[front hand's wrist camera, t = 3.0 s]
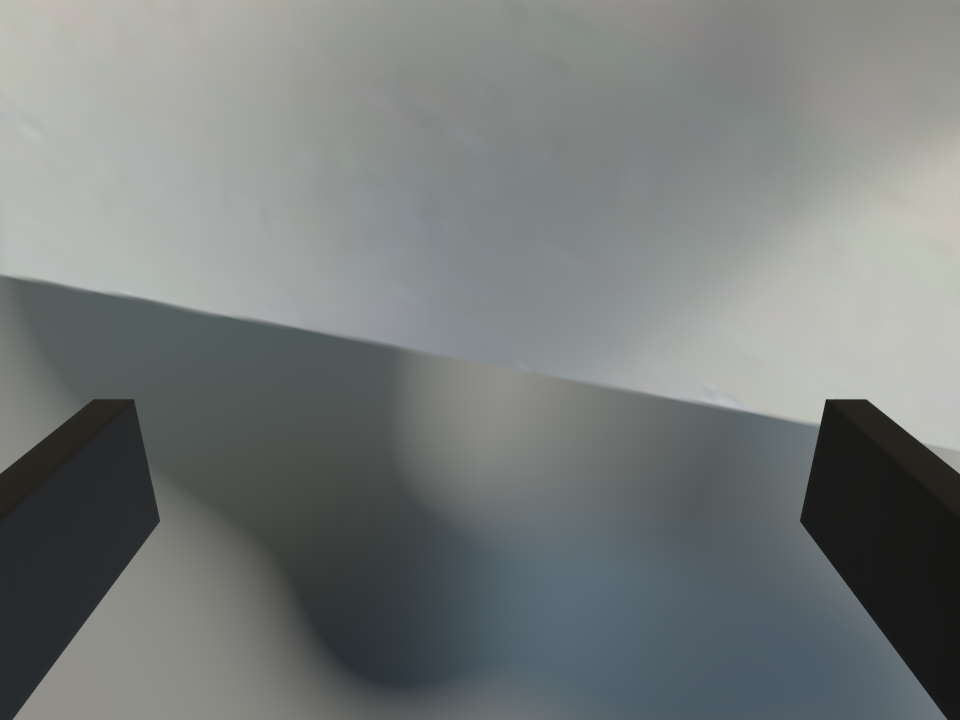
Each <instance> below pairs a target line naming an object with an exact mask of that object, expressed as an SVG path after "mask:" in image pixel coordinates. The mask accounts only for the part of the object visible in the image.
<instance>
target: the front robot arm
mask: <svg viewBox="0 0 960 720" xmlns="http://www.w3.org/2000/svg"><path fill="white" fill-rule="evenodd" d="M159 522H160V519H159V514H158V509H157V505H156V500H155V495H154V491H153V486H152V481H151V477H150V472H149V467H148V463H147V458H146V453H145V449H144V444H143V439H142V435H141V430H140V425H139V421H138V416H137V411H136V407H135V402H134V399H94V400H92V401H91V402H90V403H89V404H87V405H86V406H85V407H84V408H82V409H81V410H80V411H79V412H77V413H76V414H75V415H74V416H72V417H71V418H70V419H69V420H67V421H66V422H65V423H64V424H62V425H61V426H60V427H59V428H57V429H56V430H55V431H53V432H52V433H51V434H50V435H48V436H47V437H46V438H45V439H44V440H42V441H41V442H40V443H39V444H37V445H36V446H35V447H33V448H32V449H31V450H30V451H28V452H27V453H26V454H25V455H23V456H22V457H21V458H20V459H18V460H17V461H16V462H15V463H13V464H12V465H11V466H10V467H9V468H7V469H6V470H5V471H3V472H2V473H1V474H0V720H13V718H14V717H15V716H16V714H17V713H18V712H19V710H20V709H21V708H22V706H23V705H24V703H25V702H26V701H27V699H28V698H29V697H30V695H31V694H32V693H33V691H34V690H35V689H36V687H37V686H38V685H39V683H40V682H41V681H42V679H43V678H44V677H45V675H46V674H47V673H48V671H49V670H50V669H51V667H52V666H53V664H54V663H55V662H56V660H57V659H58V658H59V656H60V655H61V654H62V652H63V651H64V650H65V648H66V647H67V646H68V644H69V643H70V642H71V640H72V639H73V638H74V636H75V635H76V634H77V632H78V631H79V630H80V628H81V627H82V625H83V624H84V623H85V621H86V620H87V619H88V617H89V616H90V615H91V613H92V612H93V611H94V609H95V608H96V607H97V605H98V604H99V603H100V601H101V600H102V598H103V597H104V596H105V595H106V593H107V592H108V590H109V589H110V588H111V586H112V585H113V584H114V582H115V581H116V580H117V578H118V577H119V576H120V574H121V573H122V572H123V570H124V569H125V568H126V566H127V565H128V564H129V562H130V561H131V560H132V558H133V557H134V555H135V554H136V553H137V551H138V550H139V549H140V547H141V546H142V545H143V543H144V542H145V541H146V539H147V538H148V537H149V535H150V534H151V533H152V531H153V530H154V529H155V527H156V526H157V525H158V523H159ZM800 522H801V523H802V525H803V526H804V527H805V529H806V530H807V531H808V533H809V534H810V535H811V537H812V538H813V539H814V541H815V542H816V543H817V545H818V546H819V547H820V549H821V550H822V551H823V553H824V554H825V555H826V557H827V558H828V560H829V561H830V562H831V564H832V565H833V566H834V568H835V569H836V570H837V572H838V573H839V574H840V576H841V577H842V578H843V580H844V581H845V582H846V584H847V585H848V586H849V588H850V589H851V590H852V592H853V593H854V595H855V596H856V597H857V598H858V600H859V601H860V603H861V604H862V605H863V607H864V608H865V609H866V611H867V612H868V613H869V615H870V616H871V617H872V619H873V620H874V621H875V623H876V624H877V625H878V627H879V628H880V629H881V631H882V632H883V634H884V635H885V636H886V637H887V639H888V640H889V642H890V643H891V644H892V646H893V647H894V648H895V650H896V651H897V652H898V654H899V655H900V656H901V658H902V659H903V660H904V662H905V663H906V664H907V666H908V667H909V669H910V670H911V671H912V672H913V674H914V675H915V676H916V678H917V679H918V681H919V682H920V683H921V685H922V686H923V687H924V689H925V690H926V691H927V693H928V694H929V695H930V697H931V698H932V699H933V701H934V702H935V704H936V705H937V706H938V708H939V709H940V710H941V712H942V713H943V714H944V716H945V717H946V718H947V720H960V474H959V473H958V472H957V471H955V470H954V469H953V468H952V467H950V466H949V465H948V464H947V463H945V462H944V461H943V460H942V459H940V458H939V457H938V456H937V455H935V454H934V453H933V452H932V451H930V450H929V449H928V448H927V447H925V446H924V445H923V444H922V443H920V442H919V441H918V440H917V439H915V438H914V437H913V436H912V435H910V434H909V433H908V432H907V431H905V430H904V429H903V428H902V427H900V426H899V425H898V424H897V423H895V422H894V421H893V420H892V419H890V418H889V417H888V416H887V415H885V414H884V413H883V412H881V411H880V410H879V409H878V408H876V407H875V406H874V405H873V404H871V403H870V402H869V401H868V400H866V399H826V402H825V407H824V411H823V416H822V421H821V425H820V430H819V435H818V439H817V444H816V449H815V453H814V458H813V463H812V467H811V472H810V477H809V481H808V486H807V491H806V495H805V500H804V505H803V509H802V514H801V519H800Z"/></svg>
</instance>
